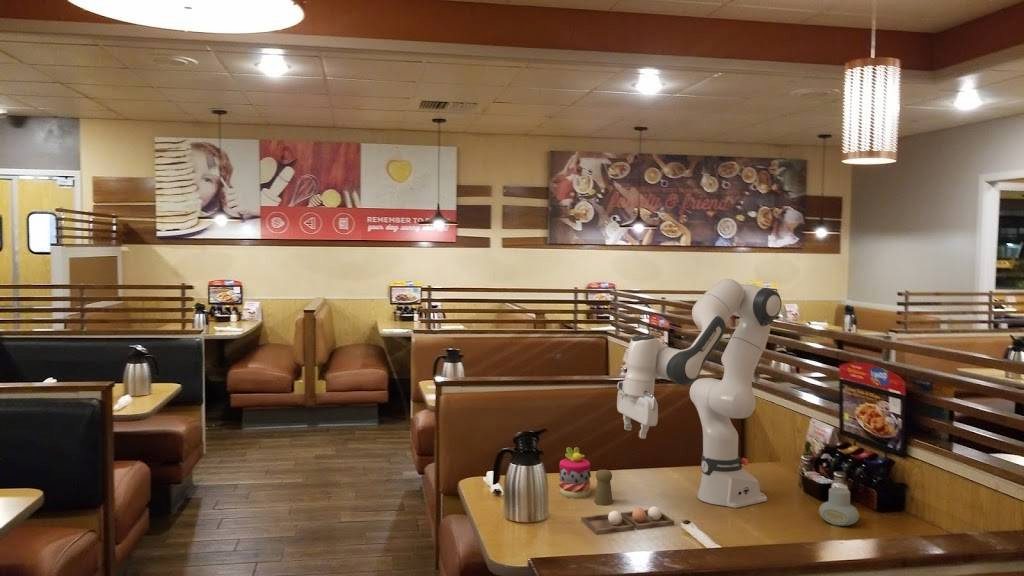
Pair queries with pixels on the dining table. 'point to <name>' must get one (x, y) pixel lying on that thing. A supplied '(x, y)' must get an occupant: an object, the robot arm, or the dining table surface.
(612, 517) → the cream ball
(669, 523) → the tray
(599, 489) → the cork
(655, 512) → the cream ball
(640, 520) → the ball terracotta
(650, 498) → the dining table surface
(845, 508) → the air freshener
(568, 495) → the cake
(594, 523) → the tray
